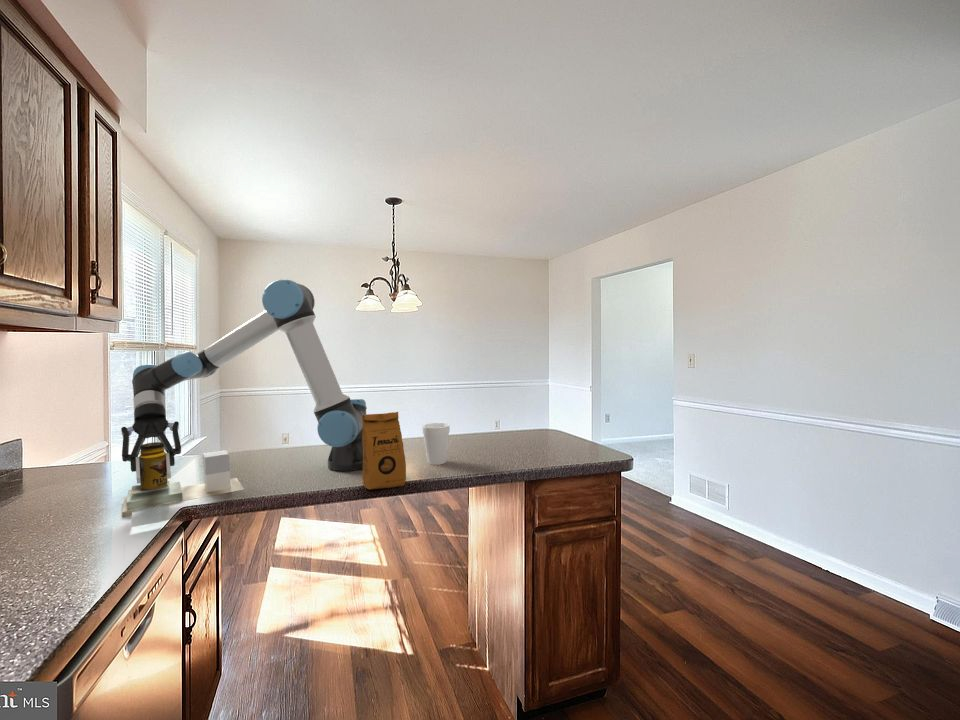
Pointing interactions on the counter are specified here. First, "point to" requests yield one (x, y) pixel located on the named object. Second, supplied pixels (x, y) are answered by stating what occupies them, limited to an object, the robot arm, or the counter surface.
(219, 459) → the block pillar
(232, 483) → the build board
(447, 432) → the foam cup
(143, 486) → the condiment
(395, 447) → the coffee package
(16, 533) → the counter surface
